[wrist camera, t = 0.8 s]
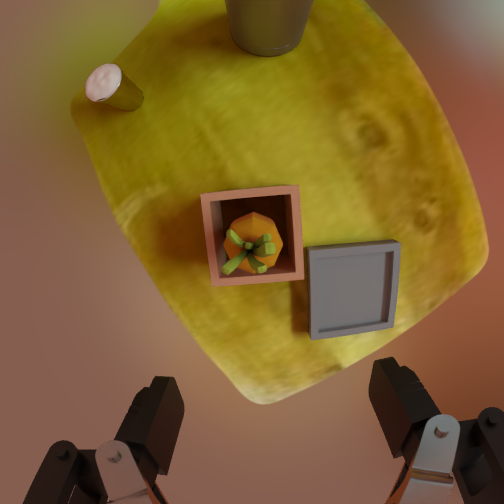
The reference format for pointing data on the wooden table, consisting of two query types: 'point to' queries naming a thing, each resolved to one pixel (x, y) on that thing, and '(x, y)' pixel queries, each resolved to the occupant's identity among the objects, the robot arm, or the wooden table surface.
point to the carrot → (252, 244)
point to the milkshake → (113, 88)
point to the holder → (213, 225)
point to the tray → (352, 287)
